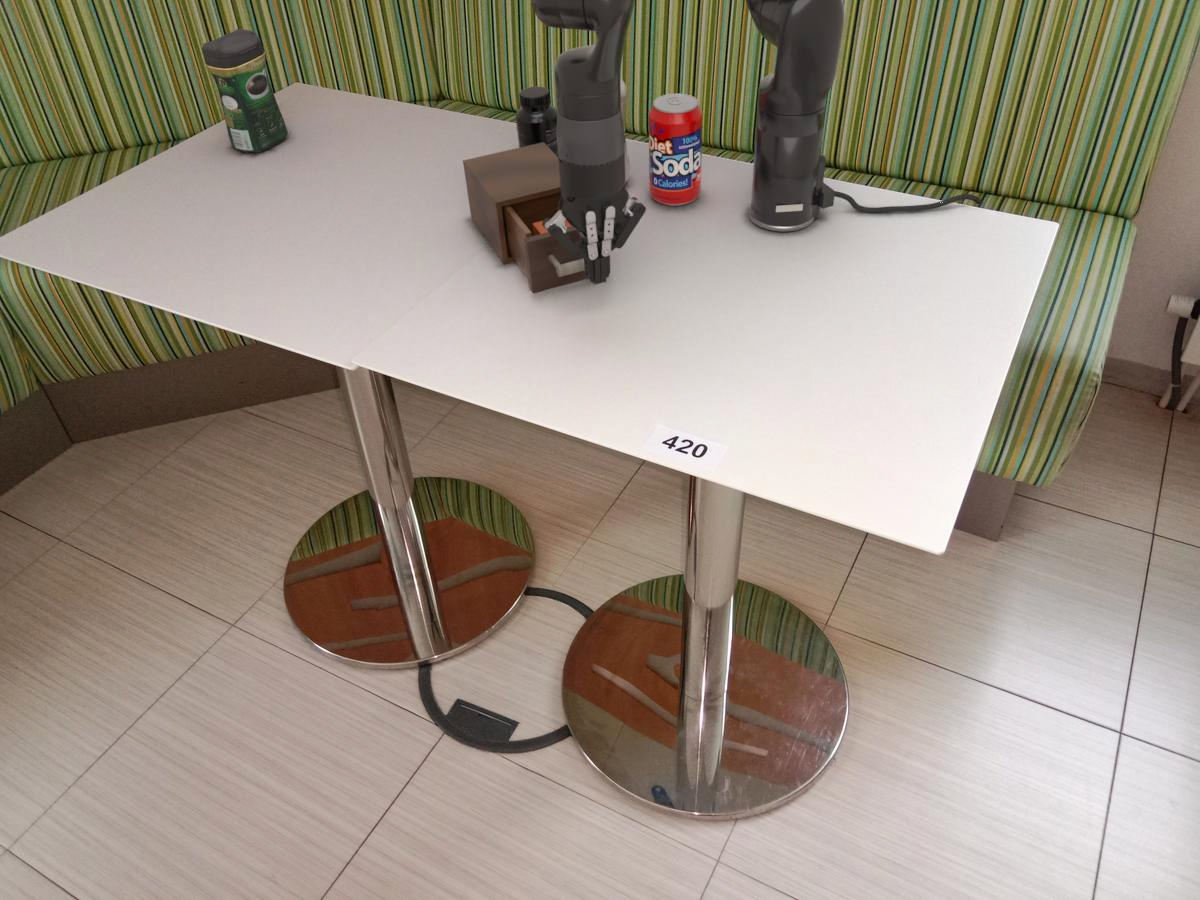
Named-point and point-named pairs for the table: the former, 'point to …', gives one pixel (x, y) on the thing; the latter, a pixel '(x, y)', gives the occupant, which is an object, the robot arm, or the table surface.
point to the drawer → (540, 245)
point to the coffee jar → (245, 91)
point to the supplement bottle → (537, 118)
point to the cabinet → (508, 187)
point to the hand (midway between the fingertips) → (597, 280)
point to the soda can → (675, 149)
